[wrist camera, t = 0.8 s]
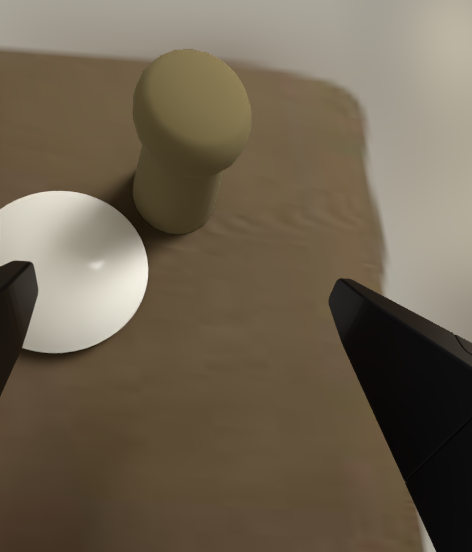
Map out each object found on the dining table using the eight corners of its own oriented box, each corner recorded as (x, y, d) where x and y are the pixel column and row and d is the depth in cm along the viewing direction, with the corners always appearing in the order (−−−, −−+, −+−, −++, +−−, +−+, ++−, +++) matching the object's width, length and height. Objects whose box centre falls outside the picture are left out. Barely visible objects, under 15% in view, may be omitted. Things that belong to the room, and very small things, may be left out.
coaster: (67, 384, 19) (62, 388, 18) (-66, 274, 18) (-81, 271, 17) (178, 270, 22) (179, 268, 21) (68, 168, 21) (64, 159, 20)
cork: (137, 237, 22) (128, 165, 11) (127, 155, 22) (109, 10, 12) (221, 231, 23) (281, 163, 13) (210, 154, 24) (259, 28, 13)
